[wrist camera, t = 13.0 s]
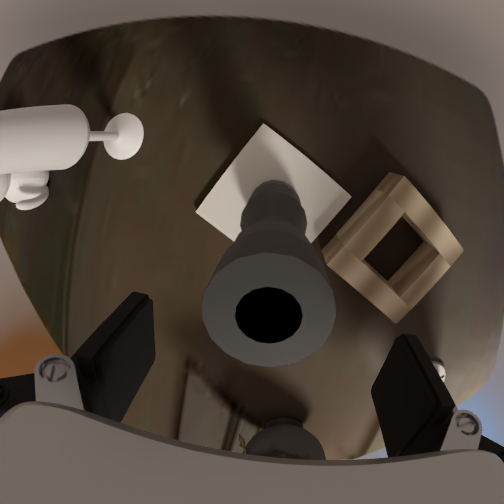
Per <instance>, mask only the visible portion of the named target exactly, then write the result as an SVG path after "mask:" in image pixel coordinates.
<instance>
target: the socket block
mask: <svg viewBox="0 0 504 504" xmlns="http://www.w3.org/2000/svg"><path fill="white" fill-rule="evenodd" d="M401 216H402V217H403V218H404V219H405V220H406V221H407V223H408V224H409V225H410V226H411V227H412V228H413V229H414V230H415V231H416V233H417V234H418V235H419V236H420V237H421V238H422V240H423V242H422V244H421V245H420V246H419V247H418V248H417V249H416V251H415V252H414V253H413V254H412V255H411V256H410V257H409V258H408V260H407V261H406V262H405V263H404V264H403V265H402V266H401V267H400V268H399V269H398V271H397V272H396V273H395V274H394V275H393V276H392V277H391V278H390V279H389V280H388V281H387V280H386V279H385V278H384V277H383V276H382V275H381V274H380V273H378V272H377V271H376V270H375V269H374V268H373V267H372V266H371V265H370V264H369V263H368V262H367V261H366V260H365V259H364V258H365V257H366V256H367V255H368V254H369V253H370V252H371V251H372V249H373V248H374V247H375V246H376V245H377V244H378V243H379V242H380V241H381V239H382V238H383V237H384V236H385V235H386V234H387V233H388V231H389V230H390V229H391V228H392V227H393V226H394V224H395V223H396V222H397V221H398V220H399V219H400V217H401ZM321 252H322V254H323V257H324V259H325V262H326V264H327V266H329V267H330V268H331V269H332V270H333V271H335V272H336V273H337V274H338V275H339V276H341V277H342V278H343V279H344V280H345V281H347V282H348V283H349V284H350V285H351V286H352V287H354V288H355V289H356V290H357V291H358V292H360V293H361V294H362V295H363V296H364V297H365V298H367V299H368V300H369V301H370V302H371V303H372V304H374V305H375V306H376V307H377V308H378V309H379V310H380V311H382V312H383V313H384V314H385V315H386V316H387V317H388V318H390V319H391V320H392V321H393V322H394V323H395V324H397V323H398V322H399V321H400V320H401V319H402V318H403V317H404V316H405V315H406V314H407V313H408V312H409V311H410V310H411V309H412V308H413V307H414V306H415V305H416V304H417V303H418V302H419V301H420V300H421V299H422V298H423V297H424V295H425V294H426V293H427V292H428V291H429V290H430V289H431V288H432V287H433V286H434V285H435V284H436V282H437V281H438V280H439V279H440V278H441V277H442V276H443V275H444V273H445V272H446V271H447V270H448V269H449V268H450V266H451V265H452V264H453V263H454V262H455V260H456V259H457V258H458V257H459V255H460V254H461V253H462V252H463V248H462V247H461V246H460V244H459V243H458V241H457V240H456V239H455V237H454V236H453V234H452V233H451V232H450V230H449V229H448V228H447V226H446V225H445V224H444V222H443V221H442V220H441V219H440V217H439V216H438V215H437V213H436V212H435V211H434V210H433V208H432V207H431V206H430V205H429V204H428V202H427V201H426V200H425V199H424V198H423V196H422V195H421V194H420V193H419V192H418V191H417V189H416V188H415V187H414V186H413V185H412V184H411V183H410V182H409V180H408V179H407V178H406V177H405V176H403V175H399V174H395V173H391V172H389V173H388V174H387V175H386V176H385V177H384V179H383V180H382V181H381V182H380V183H379V185H378V186H377V187H376V188H375V189H374V191H373V192H372V193H371V194H370V195H369V196H368V198H367V199H366V200H365V201H364V202H363V204H362V205H361V206H360V207H359V208H358V209H357V210H356V212H355V213H354V214H353V215H352V216H351V217H350V219H349V220H348V221H347V222H346V223H345V224H344V225H343V226H342V228H341V229H340V230H339V231H338V232H337V233H336V234H335V235H334V237H333V238H332V239H331V240H330V241H329V242H328V243H327V244H326V245H325V247H324V248H323V249H322V250H321Z"/></svg>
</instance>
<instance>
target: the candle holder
mask: <svg viewBox="0 0 504 504" xmlns="http://www.w3.org/2000/svg"><path fill="white" fill-rule="evenodd" d="M240 227H241V232H240V233H239V235H238V236H237V238H236V240H235V241H234V243H233V244H232V245H231V246H230V247H228V249H227V250H226V252H225V254H224V255H223V257H222V259H221V260H220V262H219V264H218V266H217V268H216V270H215V272H214V274H213V276H212V278H211V280H210V282H209V284H208V286H207V288H206V290H205V292H204V294H203V305H202V319H203V321H204V324H205V326H206V329H207V331H208V334H209V336H210V338H211V339H212V340H213V341H214V342H215V343H216V344H217V345H218V346H219V347H220V348H221V349H222V350H223V351H224V352H225V353H226V354H228V355H230V356H232V357H234V358H236V359H238V360H240V361H242V362H244V363H246V364H252V365H258V366H266V367H275V366H281V365H287V364H293V363H296V362H298V361H300V360H302V359H304V358H305V357H307V356H309V355H311V354H313V353H315V352H316V351H317V350H318V348H319V347H320V346H321V345H322V344H323V343H324V342H325V341H326V339H327V338H328V337H329V336H330V334H331V331H332V328H333V325H334V322H335V318H336V315H337V313H336V306H335V299H334V292H333V289H332V286H331V284H330V281H329V278H328V275H327V273H326V270H325V267H324V265H323V262H322V261H321V259H320V258H319V256H318V255H317V254H316V252H315V251H314V249H313V248H312V244H311V243H310V241H309V240H308V238H307V237H306V236H305V233H306V228H307V219H306V214H305V210H304V208H303V207H302V206H301V203H300V198H299V196H298V194H297V193H296V192H295V190H294V189H293V187H292V186H290V185H289V184H287V183H285V182H284V181H278V180H270V181H266V182H263V183H262V184H260V185H259V186H258V187H256V188H255V190H254V192H253V193H252V195H251V197H250V198H249V200H248V203H247V205H246V206H245V208H244V210H243V211H242V214H241V222H240Z"/></svg>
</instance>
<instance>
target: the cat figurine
mask: <svg viewBox="0 0 504 504" xmlns="http://www.w3.org/2000/svg"><path fill="white" fill-rule="evenodd" d="M48 179H49V170H46V171H31V172H19V173H9V174H0V201H1V200H2V199H3V198H4V197H5V198H6V199H8V200H9V201H11V202H13V203H16V207H17V208H18V209H20V210H29V209H33V208H35V207H38V206H39V205H41V204H42V203H43V202H44V201H45V200H46V199H47V197H48V194H49V189H48V187H47V182H48Z"/></svg>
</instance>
